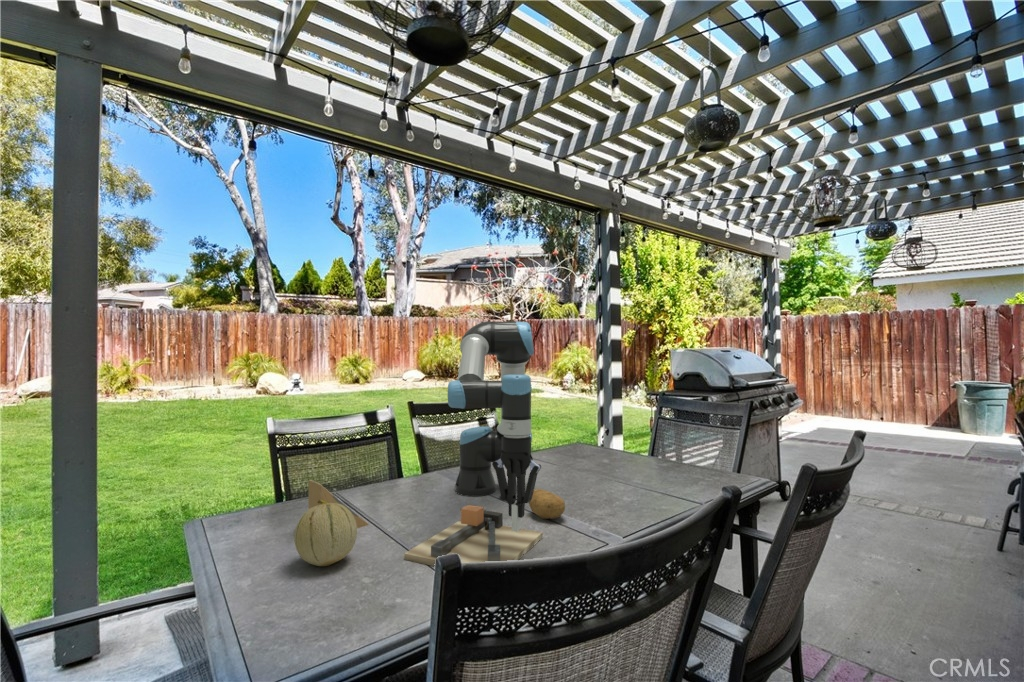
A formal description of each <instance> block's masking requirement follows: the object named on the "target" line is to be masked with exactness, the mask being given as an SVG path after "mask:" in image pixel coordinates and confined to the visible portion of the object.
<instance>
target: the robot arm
mask: <svg viewBox="0 0 1024 682" xmlns="http://www.w3.org/2000/svg"><path fill="white" fill-rule="evenodd" d="M459 350H460V352H461V356H460V363H459V369H458V374H457V375H458V376H457V379H456V380H451V381H449V382H448V385H447V404H448V406H449V407H450V408H452V409H454V408H455V409H462V410H463V409H500V423H499V424H498V425H497V427H496V430H492V428H491V426H488V425H487V426H485V425H484V426H477V427H470V428H466V429H464V430H462V431H461V432H460V435H459V473H458V474H457V478H456V481H455V484H454V485H455V486H454V492H455V491H456V492H457V493H456V492H455V493H456V494H458V493H459V494H458V495H460V494H462V495H461V496H465V495H468V496H467V497H479V496H480V497H481V495H483V496H488V495H491V494H494V493H495V492H496V491H497V487H496V485H497V484H496V480H497V483H498V488H499V494H500V498H501V501H506V502H507V503H508V516H509V517H511V527H512V531H516V532H517V531H519V530H520V529H522V518H523V517H525V507H526V504H529V502H530V501H531V500H532V496H533V492H534V490H535V487H536V482H537V478H538V474H539V472H540V470H541V469H542V465H541V464H540V463H539V464H538V463H536V462H535V461H534V460H533V459H534V458H533V456H532V442H533V432H532V380H531V376H530V375H528V374H526V365H527V363H528V362H529V361H530V356H533V355H534V353H535V352H534V342H533V334H532V328H531V324H530V323H529V322H526V321H518V320H513V321H511V320H510V321H509V320H507V321H505V320H504V321H489V320H488V321H482V322H480V323H478V324H475V325H473V326H471V327H470V328H469V329H468V330H467V331H466V332H465V333H464V334H463V336H462V338H461V339H460V345H459ZM489 355H490V356H496V361H497V362H498V363H499V364H500V380H485V366H486V356H489ZM492 467H493V469H494V471H495V474H496V480H495V478H494V475H493V471H492ZM504 467H505V468H504ZM505 469H506V473H505ZM528 469H529V471H530V472H529V474H528V480H527V482H526V475H527V470H528ZM506 476H507V477H506ZM526 483H527V484H526ZM495 490H496V491H495ZM494 491H495V492H494ZM493 492H494V493H493ZM487 494H488V495H487Z"/></svg>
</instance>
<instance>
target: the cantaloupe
mask: <svg viewBox="0 0 1024 682" xmlns="http://www.w3.org/2000/svg"><path fill="white" fill-rule="evenodd" d="M318 503H321V504H320V505H317V506H314V507H312V508H310V509H309V508H308V509H307V510H306V511H305V512H304V513H303V514H302V515H301V517H300V518H299V519H298V522H297V523H296V526H295V530H294V535H293V536H294V546H295V550H296V551H297V553H298V555H299V557H300V558H301V559H302V560H303V561H305V562H306V563H308V564H310V565H313V566H317V567H328V566H330V565H333V564H335V563H337V562H340V561H342V559H345V558H346V556H347V555H348V554H350V552H351V551H352V550H353V548H354V546H355V545H356V541H357V535H358V528H357V524H356V520H355V518H354V516H353V514H352V512H350V510H348V509H347V508H346V507H345V506H344V505H341V504H338V503H326V502H325V501H323V500H319V501H318Z"/></svg>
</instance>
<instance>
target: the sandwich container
mask: <svg viewBox="0 0 1024 682" xmlns="http://www.w3.org/2000/svg"><path fill="white" fill-rule="evenodd" d="M319 500H323V501H325V502H326V503H338V504H341V505H344V506H345V507H346V508H347V509H348V510H350V512H352V514H353V516H354V518H355V520H356V524H357V529H359V528H363V527H367V526H370V524H369V523H368V522H367V521H366V520H364V519H363V518H362V517H361V516H360V515H358V514H357V513H356V512H354V510H352V509H351V508H350V507H348V506H347V505H346V504H345V503H344V502H342V501H341V500H340V499H339V498H338V497H336V496H335V495H334V494H333V493H332V492H330V491H329V490H328V489H327V488H326V487H324V486H323V485H322V484H321V483H319V482H317V481H315V480H312V479H309V480H308V510H309V509H310V508H312V507H314V506H317V505H320V504H321V503H318V501H319Z"/></svg>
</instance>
